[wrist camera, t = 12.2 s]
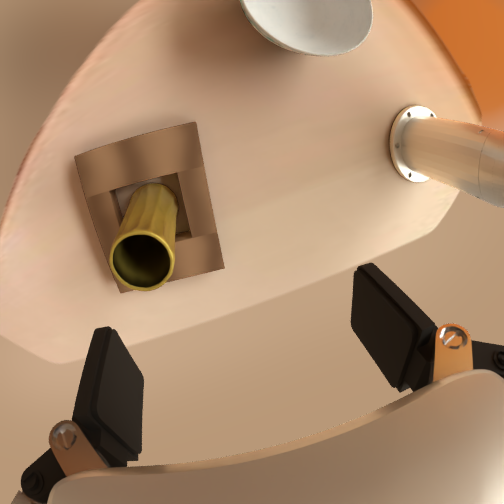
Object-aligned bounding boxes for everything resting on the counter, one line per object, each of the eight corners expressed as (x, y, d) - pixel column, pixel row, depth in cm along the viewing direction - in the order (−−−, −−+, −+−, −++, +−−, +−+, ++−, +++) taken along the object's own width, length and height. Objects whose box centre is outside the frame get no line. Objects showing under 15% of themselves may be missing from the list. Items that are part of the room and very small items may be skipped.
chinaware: (356, 17, 27) (391, 5, 21) (302, 88, 31) (333, 83, 24) (269, -46, 21) (290, -73, 14) (200, 22, 25) (207, -2, 18)
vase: (156, 240, 35) (148, 308, 23) (119, 210, 32) (89, 266, 20) (188, 205, 34) (196, 258, 22) (151, 172, 31) (134, 208, 19)
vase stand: (194, 122, 30) (196, 122, 28) (221, 259, 39) (224, 268, 36) (81, 153, 28) (74, 156, 26) (123, 283, 36) (120, 293, 34)
